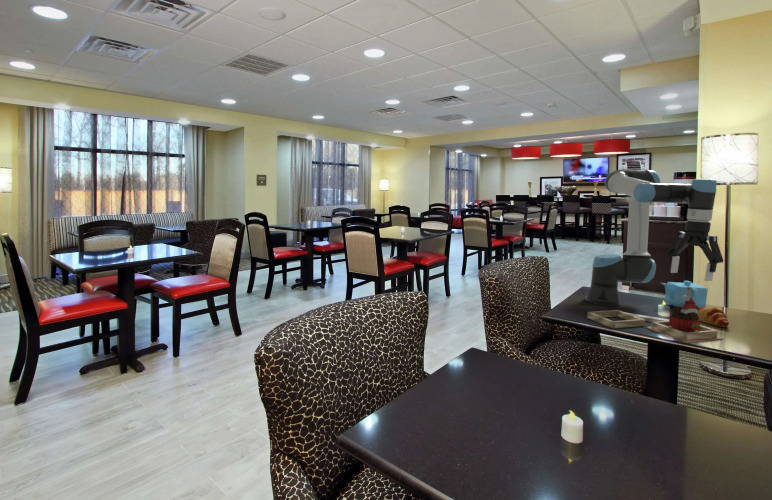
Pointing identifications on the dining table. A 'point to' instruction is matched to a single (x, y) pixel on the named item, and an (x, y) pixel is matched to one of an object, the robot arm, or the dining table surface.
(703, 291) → the teapot
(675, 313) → the cake
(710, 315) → the croissant
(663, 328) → the square wooden frames
